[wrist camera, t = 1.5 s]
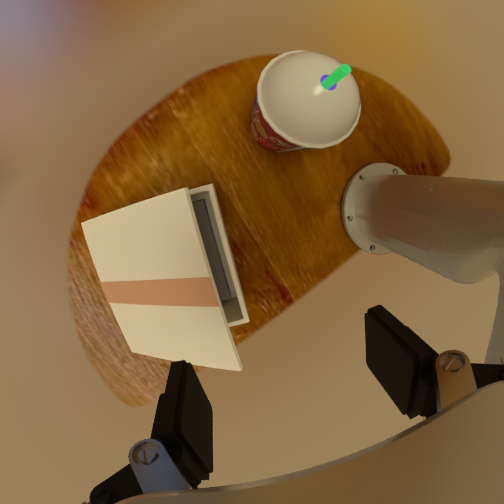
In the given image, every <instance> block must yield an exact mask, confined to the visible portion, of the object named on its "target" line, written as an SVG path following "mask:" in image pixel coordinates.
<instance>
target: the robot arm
mask: <svg viewBox="0 0 504 504" xmlns="http://www.w3.org/2000/svg"><path fill="white" fill-rule="evenodd" d="M359 176H360V179H359ZM341 215H342V221H343V225H344V228H345V230H346V232H347V234H348V236H349V238H350V239H351V240H352V242H353V243H354V244H355V245H357V246H358V247H359V248H361V249H362V250H364V251H366V252H369V253H371V254H378V255H380V254H387V253H390V252H395V253H397V254H400V255H402V256H404V257H406V258H408V259H410V260H412V261H414V262H416V263H418V264H420V265H422V266H424V267H426V268H428V269H430V270H432V271H434V272H436V273H438V274H440V275H442V276H444V277H446V278H448V279H450V280H452V281H455V282H457V283H461V284H474V283H478V282H480V281H482V280H484V279H486V278H488V277H490V276H492V275H493V274H495V273H496V272H497V273H498V275H499V279H500V287H499V295H498V305H497V311H496V316H495V320H494V324H493V329H492V333H491V337H490V341H489V345H488V349H487V354H486V358H485V362H484V364H475V363H470V360H469V358H468V356H467V355H466V354H465V353H463V352H461V351H458V350H448V351H445V352H443V353H441V354H440V355H439V354H438V353H437V352H436V351H434V350H433V349H432V348H431V347H430V346H429V345H428V344H427V343H425V342H424V341H423V340H422V339H421V338H420V337H419V336H418V335H416V334H415V333H414V332H413V331H412V330H411V329H409V327H407V326H405V325H404V324H403V323H401V322H400V321H399V320H398V319H397V318H396V317H394V316H393V315H392V314H391V313H390V312H389V311H387V310H386V309H385V308H384V307H383V306H382V305H377V306H375V307H372V308H369V309H368V312H367V313H365V335H366V337H365V338H366V363H367V365H368V367H369V369H370V370H371V372H372V373H373V374H374V376H375V377H376V378H377V380H378V381H379V382H380V384H381V385H382V386H383V388H384V389H385V391H386V392H387V393H388V395H389V396H390V398H391V399H392V400H393V402H394V403H395V404H396V406H397V407H398V408H399V410H400V411H401V413H402V414H403V415H406V414H407V415H408V417H409V418H410V419H412V418H414V417H416V416H418V415H420V416H423V421H422V422H420V423H418V424H416V425H414V426H412V427H411V428H409V429H407V430H405V431H403V432H401V433H399V434H397V435H395V436H393V437H390V438H388V439H386V440H384V441H382V442H380V443H377V444H375V445H373V446H370V447H368V448H365V449H363V450H361V451H358V452H356V453H353V454H351V455H348V456H345V457H342V458H340V459H337V460H334V461H331V462H328V463H325V464H321V465H318V466H315V467H312V468H308V469H305V470H301V471H297V472H294V473H289V474H285V475H281V476H277V477H272V478H268V479H263V480H258V481H252V482H246V483H240V484H233V485H226V486H218V487H209V488H199V487H198V485H199V484H200V483H201V480H209V473H212V472H213V434H212V433H213V420H212V418H213V413H212V407H211V404H210V402H209V400H208V398H207V396H206V394H205V392H204V390H203V388H202V386H201V384H200V381H199V379H198V377H197V375H196V373H195V371H194V368H193V366H192V364H191V363H190V362H188V363H187V362H186V361H185V360H181V361H175V362H172V363H171V366H170V371H169V375H168V380H167V384H166V389H165V393H162V394H161V395H160V397H159V400H158V405H157V409H156V414H155V419H154V423H153V428H152V433H151V438H150V439H144V440H141V441H139V442H137V443H136V444H134V446H132V448H131V449H130V451H129V456H128V458H129V462H130V464H128V465H127V466H125V467H124V468H122V469H121V470H120V471H119V472H117V473H115V474H114V475H112V476H111V477H109V478H108V479H106V480H105V481H103V482H102V483H100V484H99V485H97V486H96V487H95V488H94V489H93V490H92V492H91V494H90V502H88V503H86V502H83V503H82V504H504V181H489V180H476V179H466V178H453V177H440V176H423V175H407V174H406V173H405V172H404V171H403V170H401V169H400V168H399V167H397V166H395V165H392V164H389V163H373V164H369V165H366V166H364V167H362V168H361V169H360V170H358V171H357V172H356V173H355V174H354V175H353V176H352V177H351V179H350V180H349V182H348V184H347V185H346V188H345V191H344V193H343V198H342V203H341ZM348 216H349V218H348V219H347V217H348ZM370 246H371V247H370Z"/></svg>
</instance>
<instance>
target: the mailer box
mask: <svg viewBox="0 0 504 504" xmlns="http://www.w3.org/2000/svg"><path fill="white" fill-rule="evenodd" d="M189 194H190V197H191V201H192V205H193V209H194V212H195V216H196V220H197V223H198V227H199V230H200V234H201V237H202V241H203V244H204V248H205V251H206V255H207V258H208V262H209V265H210V268H211V272H212V275H213V278H214V282H215V285H216V288H217V291H218V294H219V298H220V301H221V304H222V307H223V310H224V313H225V317H226V320H227V323H228V326H229V327H231V326H235V325H239V324H243V323H247V322H249V317H248V312H247V308H246V303H245V298H244V294H243V291H242V287H241V284H240V280H239V276H238V273H237V269H236V265H235V262H234V258H233V254H232V251H231V247H230V243H229V239H228V236H227V232H226V228H225V224H224V220H223V217H222V213H221V209H220V205H219V201H218V197H217V194H216V190H215V186H214V183H212V184H208V185H204V186H201V187H197V188H194V189H190V190H189Z"/></svg>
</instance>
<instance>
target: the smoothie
mask: <svg viewBox="0 0 504 504" xmlns="http://www.w3.org/2000/svg"><path fill="white" fill-rule="evenodd" d="M350 72H351V67H350V66H349V65H347V64H342V63H340V62H339V61H338V60H336V59H335V58H333V57H330V56H328V55H326V54H323V53H319V52H313V51H305V50H297V51H291V52H286V53H283V54H281V55H279V56H277V57H276V58H274V59H272V60H271V61H270V62H269V63H268V64H267V66H266V67H265V68H264V69H263V70H262V72H261V75H260V78H259V80H258V83H257V92H256V97H255V101H254V106H253V111H252V115H251V120H250V126H251V132H252V134H253V136H254V138H255V140H256V141H257V142H258V143H259V144H260V145H261V146H262V147H264V148H266V149H267V150H270V151H273V152H290V151H298V150H306V149H314V148H321V149H323V148H327V147H330V146H333V145H337V144H339V143H340V142H342V141H343V140H344V139H346V138H347V137H349V136H350V135H351V133H352V132H353V130H354V129H355V127H356V125H357V124H358V120H359V116H360V112H361V104H360V103H361V102H360V92H359V88H358V86H357V83H356V81H355V78H354V77H353V75H352V74H351V73H350Z"/></svg>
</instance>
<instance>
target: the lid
mask: <svg viewBox="0 0 504 504" xmlns="http://www.w3.org/2000/svg"><path fill="white" fill-rule="evenodd" d="M81 225H82V228H83V232H84V235H85V238H86V241H87V245H88V248H89V251H90V254H91V256H92V259H93V262H94V265H95V268H96V271H97V273H98V276H99V279H100V281H101V282H100V283H101V286H102V288H103V291H104V293H105V296H106V298H107V301H108V303H109V304H110V306H111V308H112V311H113V313H114V315H115V317H116V320H117V322H118V324H119V326H120V328H121V330H122V333H123V335H124V337H125V339H126V341H127V343H128V345H129V347H130V349H131V351H132V352H135V353H139V354H143V355H148V356H152V357H157V358H162V359H167V360H172V361H181V360H185V361H186V362H187V363H188V362H190V363H191V364H194V365H200V366H206V367H213V368H219V369H227V370H235V371H241V370H242V369H243V368H242V365H241V362H240V359H239V356H238V353H237V350H236V347H235V344H234V341H233V338H232V335H231V332H230V329H229V326H228V323H227V320H226V317H225V313H224V310H223V307H222V304H221V301H220V298H219V294H218V291H217V288H216V285H215V282H214V278H213V275H212V272H211V268H210V265H209V262H208V258H207V255H206V251H205V248H204V244H203V241H202V237H201V234H200V230H199V227H198V223H197V220H196V216H195V212H194V209H193V205H192V201H191V197H190V194H189V190H188V187H186V188H182V189H179V190H176V191H172V192H169V193H166V194H163V195H159V196H156V197H153V198H150V199H147V200H144V201H141V202H138V203H135V204H132V205H129V206H126V207H123V208H120V209H118V210H115V211H112V212H109V213H107V214H104V215H101V216H98V217H96V218H93V219H90V220H88V221H85V222H83V223H81Z"/></svg>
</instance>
